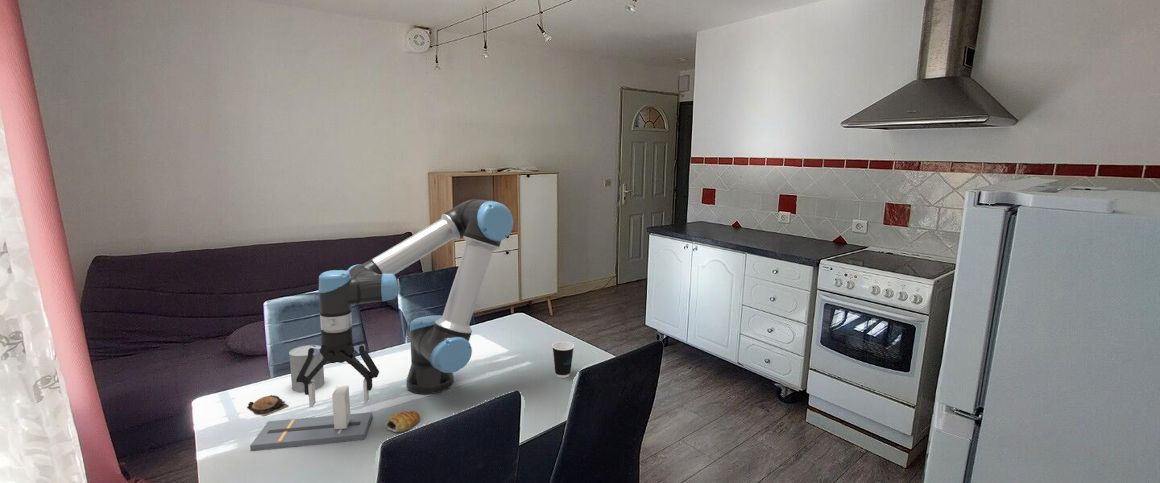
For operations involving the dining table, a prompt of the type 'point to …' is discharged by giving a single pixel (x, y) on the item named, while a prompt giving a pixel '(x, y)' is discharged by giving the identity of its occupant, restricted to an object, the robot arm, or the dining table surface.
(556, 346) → the dixie cup
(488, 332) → the dining table surface
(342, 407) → the fader tab
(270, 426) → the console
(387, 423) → the pastry
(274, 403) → the wood slice
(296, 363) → the grey concrete cylinder
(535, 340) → the dining table surface
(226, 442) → the dining table surface
